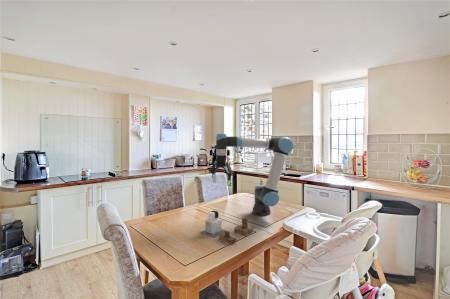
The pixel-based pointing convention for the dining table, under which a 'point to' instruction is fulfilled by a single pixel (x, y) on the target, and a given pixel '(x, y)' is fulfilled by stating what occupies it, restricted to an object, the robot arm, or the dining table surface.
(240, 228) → the pair of wooden stands
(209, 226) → the container
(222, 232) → the plate
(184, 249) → the dining table surface
